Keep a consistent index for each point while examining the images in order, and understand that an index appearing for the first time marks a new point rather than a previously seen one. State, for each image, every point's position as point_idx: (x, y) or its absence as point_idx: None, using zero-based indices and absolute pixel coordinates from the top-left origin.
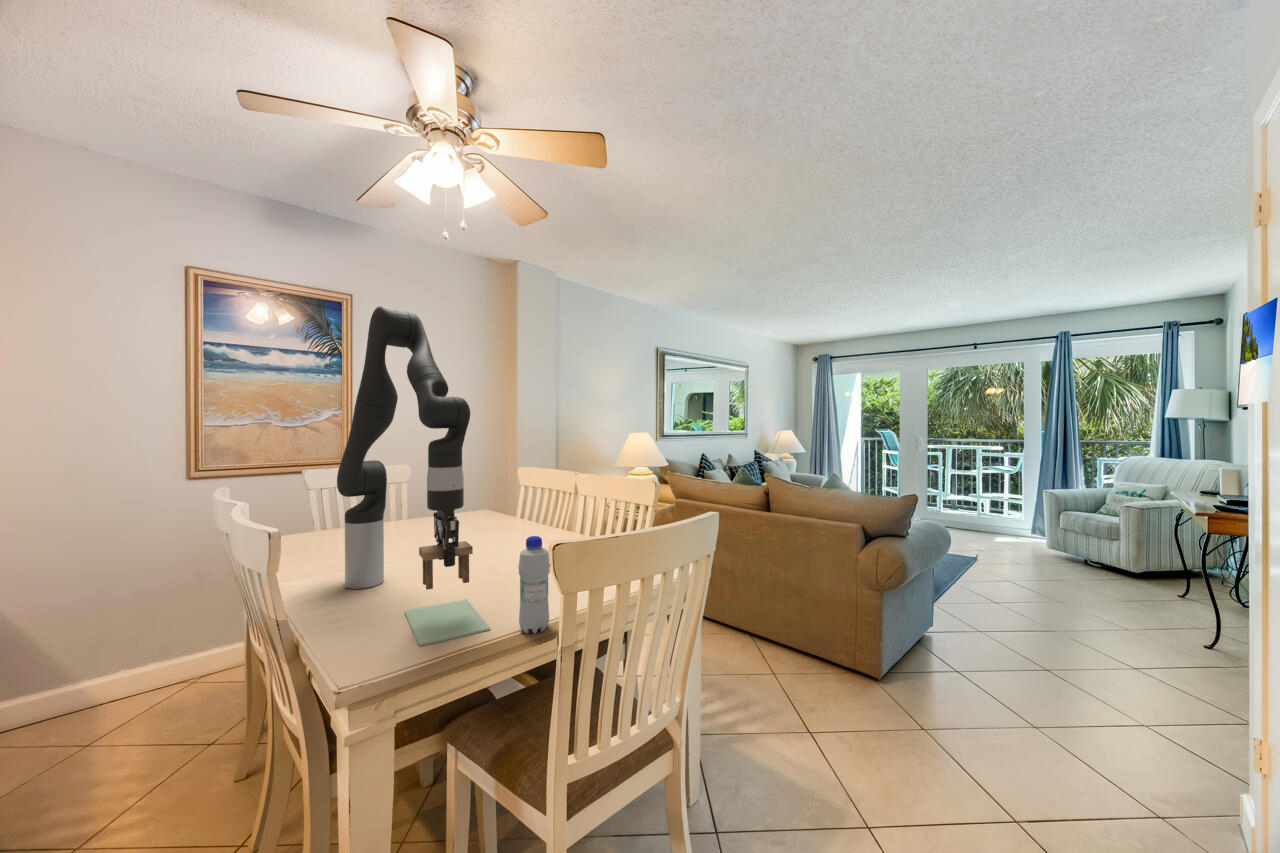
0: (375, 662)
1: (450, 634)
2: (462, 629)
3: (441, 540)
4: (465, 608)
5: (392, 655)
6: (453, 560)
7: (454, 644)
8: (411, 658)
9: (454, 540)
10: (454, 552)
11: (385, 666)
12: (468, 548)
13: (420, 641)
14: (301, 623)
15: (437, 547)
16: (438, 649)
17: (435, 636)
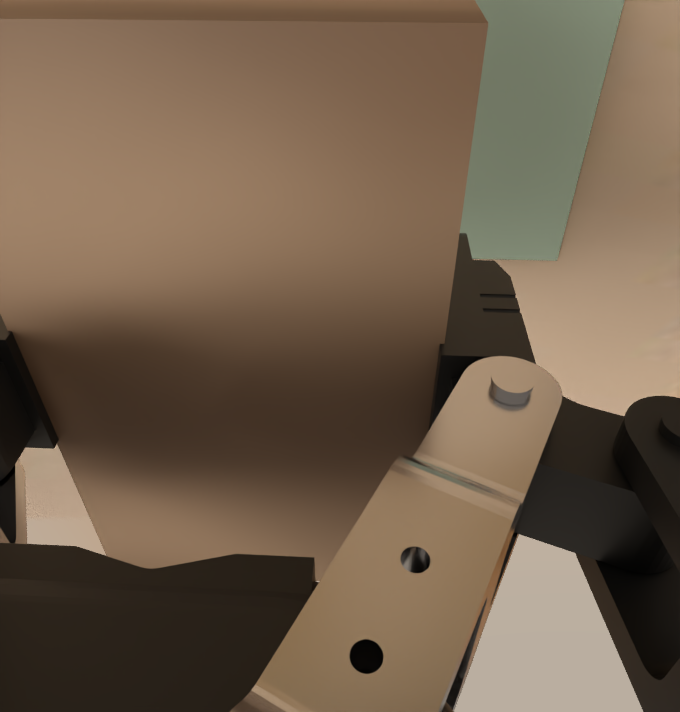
0: (568, 393)
1: (557, 110)
2: (537, 24)
3: (9, 445)
4: None
5: (555, 347)
6: (509, 290)
7: (668, 111)
8: (643, 299)
9: (533, 476)
10: (486, 327)
11: (629, 375)
12: (467, 106)
13: (527, 251)
14: (83, 514)
15: (213, 468)
16: (654, 192)
17: (521, 183)
